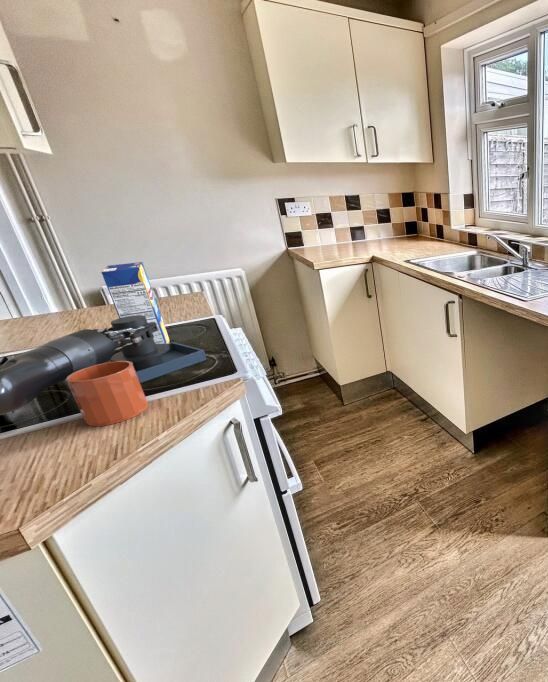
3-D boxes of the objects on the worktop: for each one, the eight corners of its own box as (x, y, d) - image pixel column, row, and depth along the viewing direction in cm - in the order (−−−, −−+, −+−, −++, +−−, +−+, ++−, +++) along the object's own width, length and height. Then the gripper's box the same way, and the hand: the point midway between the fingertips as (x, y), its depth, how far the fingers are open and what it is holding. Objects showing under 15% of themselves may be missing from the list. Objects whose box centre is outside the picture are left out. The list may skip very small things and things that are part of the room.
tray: (110, 393, 88) (106, 382, 87) (80, 381, 94) (76, 370, 93) (207, 359, 104) (204, 349, 103) (175, 351, 110) (172, 341, 109)
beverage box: (134, 358, 106) (101, 272, 98) (138, 345, 115) (107, 265, 107) (168, 351, 110) (138, 267, 102) (169, 340, 118) (142, 261, 110)
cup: (99, 430, 75) (79, 385, 71) (77, 419, 78) (57, 376, 75) (158, 407, 82) (142, 365, 79) (134, 398, 86) (118, 357, 83)
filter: (129, 379, 92) (109, 329, 88) (107, 371, 97) (87, 323, 93) (183, 361, 101) (167, 315, 97) (160, 354, 105) (143, 310, 101)
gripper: (104, 334, 81) (167, 309, 97) (27, 338, 81) (102, 312, 96) (119, 369, 84) (177, 340, 99) (44, 373, 83) (114, 343, 99)
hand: (140, 326), depth 98 cm, fingers closed on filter, 6 cm apart
